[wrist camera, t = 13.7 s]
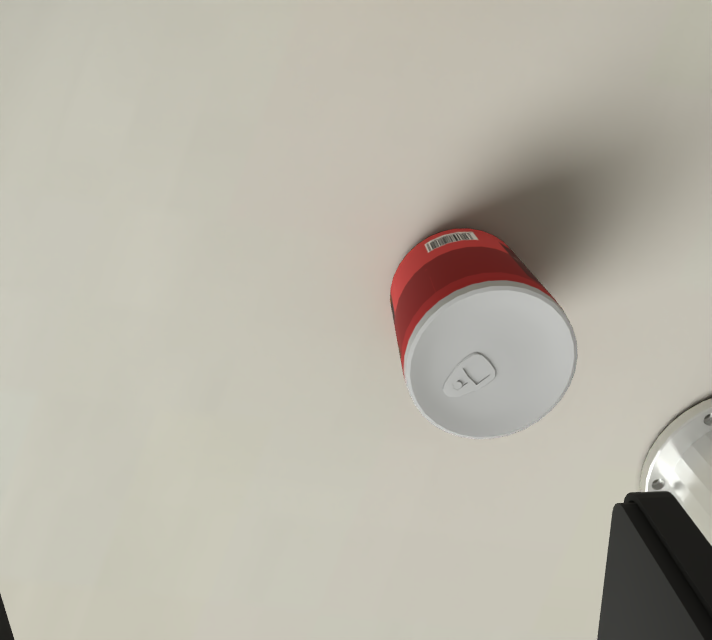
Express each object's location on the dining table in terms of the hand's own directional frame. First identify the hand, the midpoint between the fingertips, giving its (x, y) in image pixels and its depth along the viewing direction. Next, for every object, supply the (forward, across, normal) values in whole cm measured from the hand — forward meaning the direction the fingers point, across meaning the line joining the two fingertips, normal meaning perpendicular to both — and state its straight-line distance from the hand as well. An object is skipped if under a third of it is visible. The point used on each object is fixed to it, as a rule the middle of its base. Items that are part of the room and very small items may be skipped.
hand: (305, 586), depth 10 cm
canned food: (+31, -7, +6) cm, 32 cm away
